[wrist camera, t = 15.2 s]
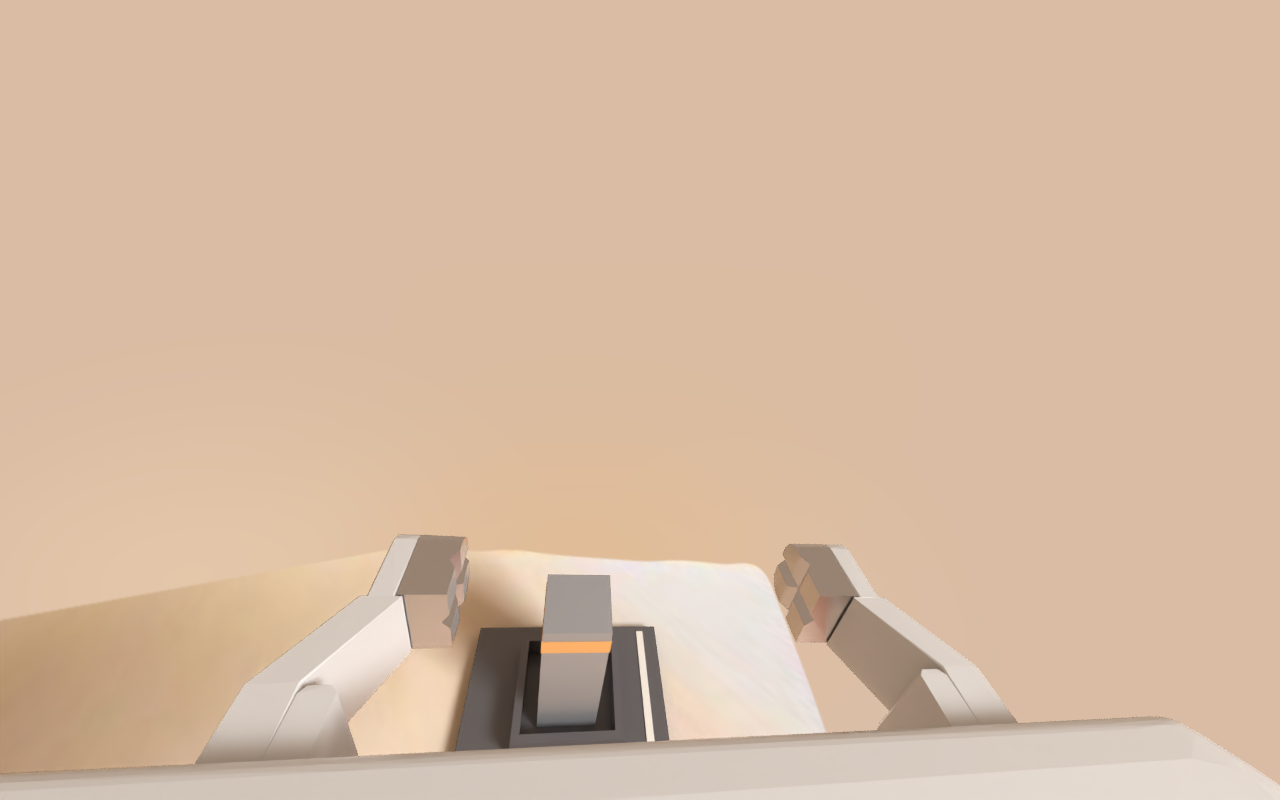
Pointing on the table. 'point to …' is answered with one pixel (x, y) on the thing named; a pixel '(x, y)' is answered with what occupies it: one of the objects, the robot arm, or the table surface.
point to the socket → (511, 693)
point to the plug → (574, 649)
